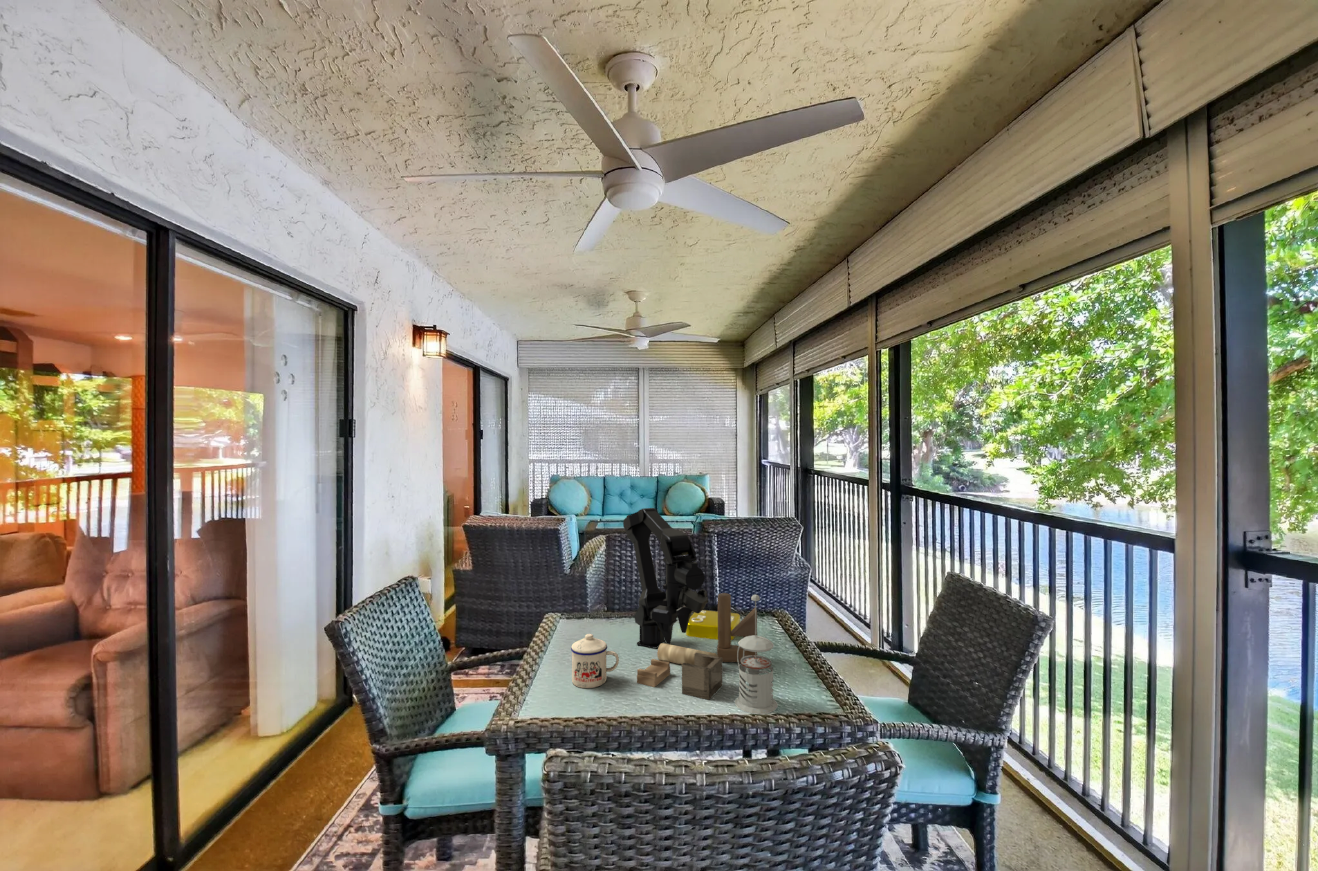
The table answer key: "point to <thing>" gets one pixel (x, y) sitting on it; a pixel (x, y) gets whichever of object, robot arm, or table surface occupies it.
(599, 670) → the teacup with lid
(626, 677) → the table surface
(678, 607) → the robot arm
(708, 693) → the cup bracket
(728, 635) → the brown post stand
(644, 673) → the block
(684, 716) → the table surface
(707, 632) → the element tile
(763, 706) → the french press
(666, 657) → the rod
